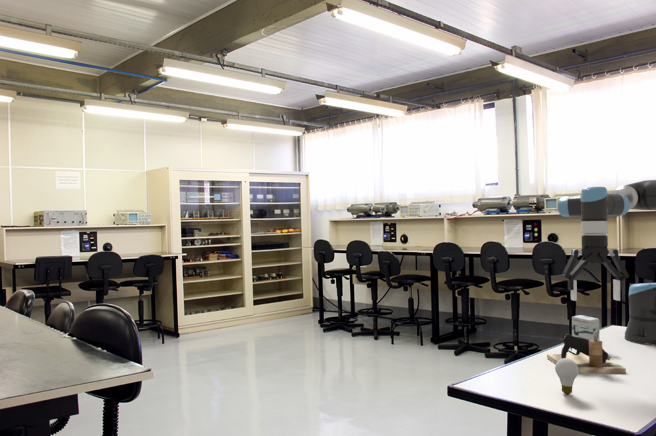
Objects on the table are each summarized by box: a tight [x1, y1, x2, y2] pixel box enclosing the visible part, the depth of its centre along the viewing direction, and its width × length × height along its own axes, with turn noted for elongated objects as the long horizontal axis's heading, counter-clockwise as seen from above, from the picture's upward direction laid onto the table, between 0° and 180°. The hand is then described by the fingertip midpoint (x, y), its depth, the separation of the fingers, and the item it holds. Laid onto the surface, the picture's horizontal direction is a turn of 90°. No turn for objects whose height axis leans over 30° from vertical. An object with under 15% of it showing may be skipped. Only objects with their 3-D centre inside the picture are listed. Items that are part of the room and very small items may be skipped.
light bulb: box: [554, 358, 579, 396], centre depth 139 cm, size 6×6×10 cm
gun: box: [560, 333, 611, 363], centre depth 166 cm, size 3×16×10 cm, turn 87°
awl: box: [589, 331, 603, 368], centre depth 161 cm, size 4×4×11 cm
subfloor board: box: [546, 353, 627, 374], centre depth 167 cm, size 18×17×2 cm
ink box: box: [571, 314, 601, 341], centre depth 190 cm, size 9×5×12 cm, turn 25°
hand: (595, 300), depth 161 cm, fingers open, 13 cm apart
